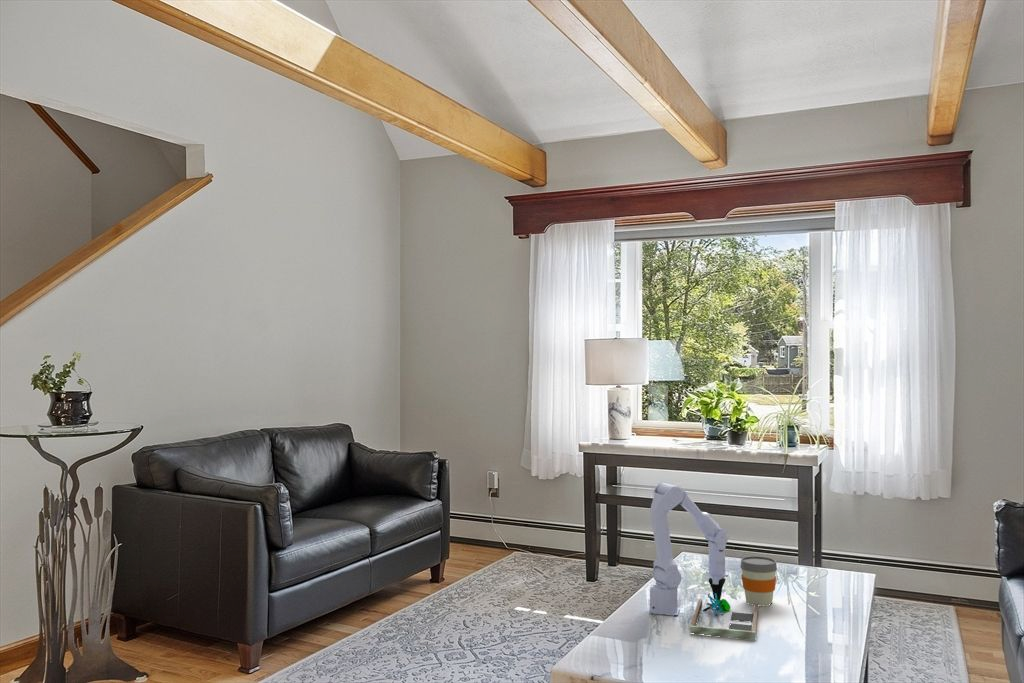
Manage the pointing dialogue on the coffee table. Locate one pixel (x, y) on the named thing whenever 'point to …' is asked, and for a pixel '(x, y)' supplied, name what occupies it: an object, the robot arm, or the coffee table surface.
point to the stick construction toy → (721, 604)
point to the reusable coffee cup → (758, 579)
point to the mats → (741, 618)
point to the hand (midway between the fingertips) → (717, 599)
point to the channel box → (721, 631)
